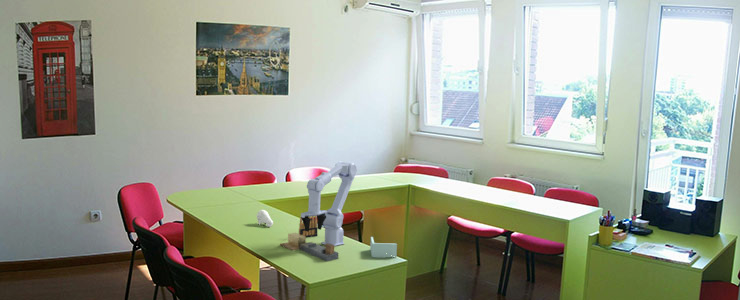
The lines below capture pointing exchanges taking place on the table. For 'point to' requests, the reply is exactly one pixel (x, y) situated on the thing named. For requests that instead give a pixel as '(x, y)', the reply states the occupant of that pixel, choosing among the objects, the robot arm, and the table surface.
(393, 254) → the right angle wall
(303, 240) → the tan rectangular block
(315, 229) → the ammunition clip
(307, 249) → the body
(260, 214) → the white toy sheep
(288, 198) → the table surface
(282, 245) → the walnut board
